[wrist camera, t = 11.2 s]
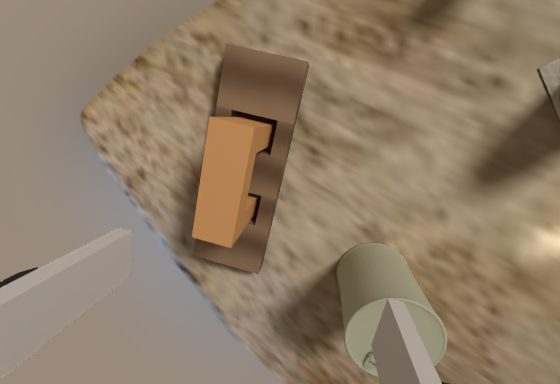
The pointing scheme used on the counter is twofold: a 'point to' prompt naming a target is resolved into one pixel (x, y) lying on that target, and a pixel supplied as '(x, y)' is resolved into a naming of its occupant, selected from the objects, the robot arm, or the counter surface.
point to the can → (382, 301)
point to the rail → (268, 165)
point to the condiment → (553, 81)
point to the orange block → (228, 178)
